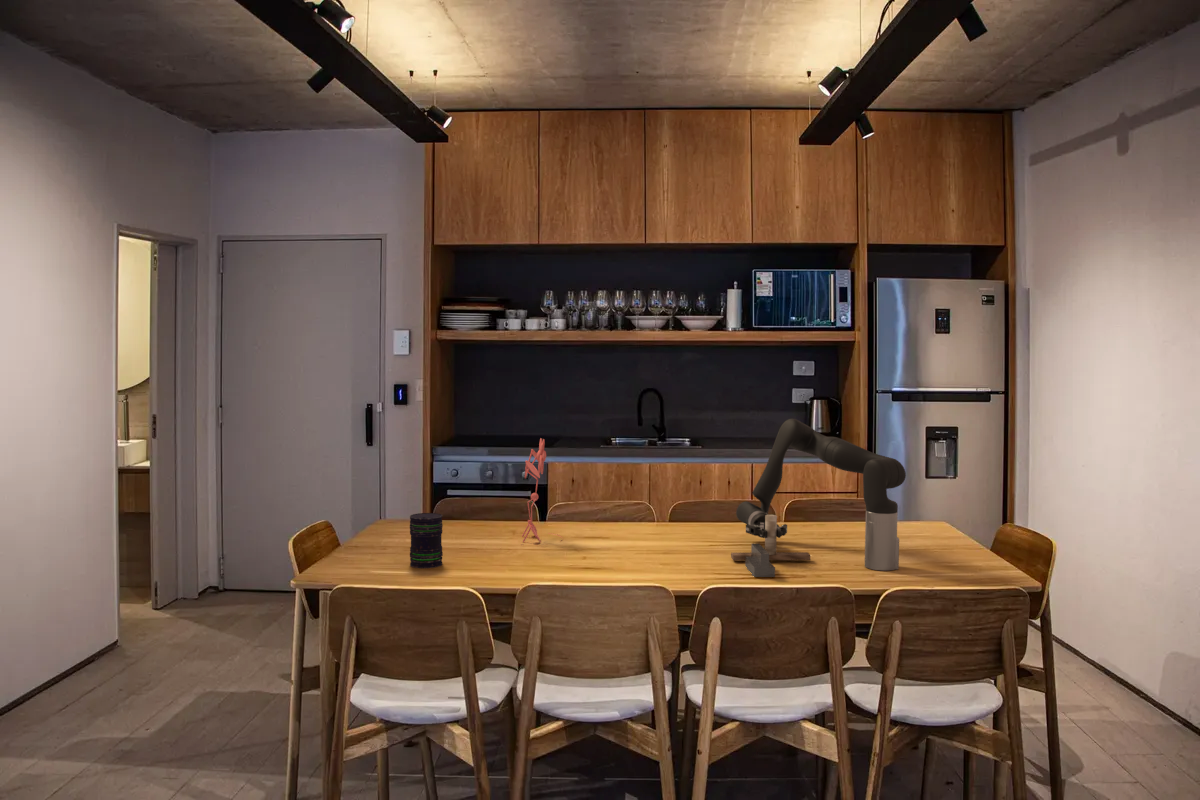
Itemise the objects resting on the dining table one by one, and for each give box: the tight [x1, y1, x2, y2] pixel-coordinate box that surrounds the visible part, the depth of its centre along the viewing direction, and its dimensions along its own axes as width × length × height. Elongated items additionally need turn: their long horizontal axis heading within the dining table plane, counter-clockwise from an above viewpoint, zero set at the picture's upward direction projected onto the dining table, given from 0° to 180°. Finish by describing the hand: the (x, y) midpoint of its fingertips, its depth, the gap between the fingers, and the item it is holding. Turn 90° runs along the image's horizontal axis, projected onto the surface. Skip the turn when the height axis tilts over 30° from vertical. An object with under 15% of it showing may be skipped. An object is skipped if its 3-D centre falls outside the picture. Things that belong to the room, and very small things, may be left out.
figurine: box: [520, 437, 562, 546], centre depth 317 cm, size 15×26×35 cm, turn 6°
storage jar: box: [409, 512, 444, 569], centre depth 280 cm, size 10×10×15 cm
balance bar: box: [730, 514, 811, 561], centre depth 287 cm, size 24×4×14 cm, turn 91°
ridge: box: [744, 543, 776, 578], centre depth 273 cm, size 6×14×7 cm, turn 2°
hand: (772, 534), depth 284 cm, fingers closed on balance bar, 3 cm apart
